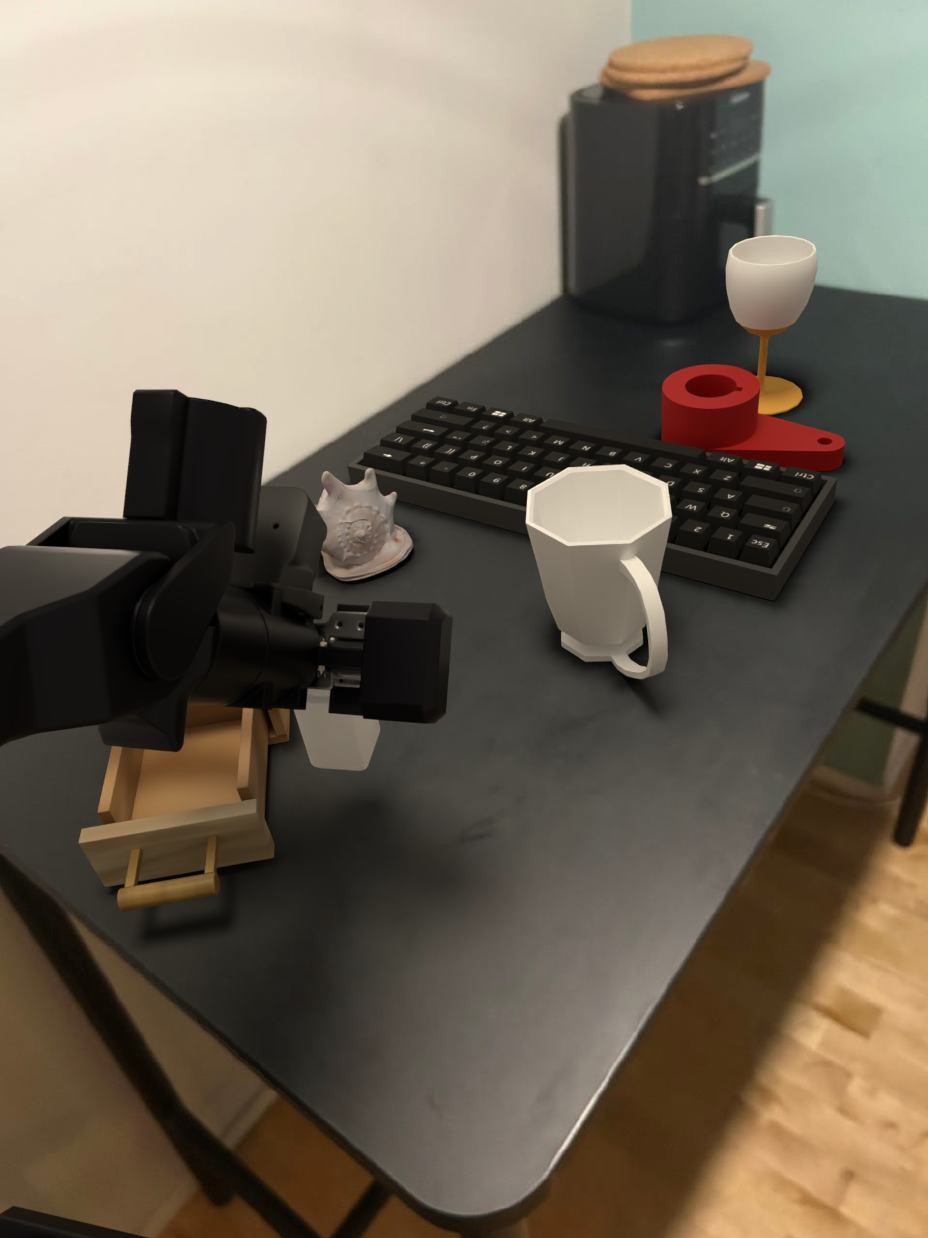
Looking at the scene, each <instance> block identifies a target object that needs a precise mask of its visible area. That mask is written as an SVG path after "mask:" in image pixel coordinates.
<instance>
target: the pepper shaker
mask: <svg viewBox="0 0 928 1238" xmlns="http://www.w3.org/2000/svg"><path fill="white" fill-rule="evenodd" d="M331 639H333V640H334V638H331ZM320 644H321V646H327V643H326V642H325V641H324V639H323V641H322V642H320ZM318 670H319V671H320V672H321V674H322V672H323V671H325V666H319V668H318ZM329 698H330V690H319V689H308V691H307V703H306V710H293V712H294V716H295V718H296V722H297V725H298V728H299V732H300V734H301V738H302V741H303V744H304V747H305V750H306V753H307V757H308V759H309V762H310V764H311V765H312V766H313V767H315V768H318V769H327V770H342V771H352V772H353V771H354V772H355V771H356V772H361V771H364V770H366V769H367V768H368V767H369V765H370V761H371V759H372V756H373V752H374V751H375V748H376V744H377V742H378V739H379V735H380V733H381V725H380V722H379V721H380V720H372V719H363V716H356V715H344V714H331V713H328V710H329Z"/></svg>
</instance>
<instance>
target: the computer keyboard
mask: <svg viewBox="0 0 928 1238" xmlns="http://www.w3.org/2000/svg"><path fill="white" fill-rule="evenodd" d="M624 464H625V465H627V466H629V467H631V468H633V469H636V470H638V471H640V472H642V473H645V474H647V475H649V476H651V477H654V478H656V479H658V480H660V481H663V482H665V483H667V484H668V491H669V498H670V505H671V513H672V519H671V524H670V529H669V534H668V539H667V543H666V548H665V552H664V556H663V561H662V566H661V571H660V572H664V573H667V574H672V575H676V576H679V577H683V578H687V579H690V580H694V581H698V582H701V583H705V584H709V585H712V586H716V587H720V588H724V589H728V590H731V591H735V592H738V593H743V594H746V595H750V596H753V597H757V598H761V599H763V600H764V599H766V600H768V601H772V602H775V601H776V599H777V598H778V595H780V592H781V591H782V589H783V587H784V585H785V584H786V582H787V581H788V579H789V578H790V576H791V574H792V573H793V571H794V569H795V567H796V566H797V564H798V563H799V561H800V559H801V558H802V556H803V555H804V553H805V551H806V550H807V547H808V546H809V545H810V543H811V541H812V539H813V538H814V536H815V535H816V533H817V531H818V530H819V528H820V526H821V525H822V523H823V521H824V520H825V518H826V517H827V515H828V513H829V512H830V510H831V508H832V507H833V505H834V503H835V498H836V497H835V496H836V490H837V483H838V477H833V476H828V475H823V474H822V473H821V471H811V470H806V469H801V468H796V467H791V466H789V467H788V468H784V467H780V466H779V464H776V463H771V462H766V461H761V460H756V459H750V461H749V460H744V459H742V457H741V456H736V455H730V454H725V453H720V452H715V451H714V452H713V453H708V452H705V449H700V448H695V447H690V446H685V445H680V444H675V443H670V442H665V441H661V440H659V439H654V438H649V437H644V436H640V435H635V434H629V433H625V432H620V431H615V430H608V429H604V428H600V427H599V428H598V427H594V426H589V425H584V424H580V423H579V424H577V423H574V422H569V421H565V420H559V419H553V418H548V419H544V418H543V417H542V416H538V415H533V414H530V413H529V414H528V413H523V412H519V413H514V412H513V410H509V409H503V408H497V407H493V406H491V407H490V408H487V407H486V406H485V405H482V404H478V403H474V402H467V401H463V402H459V401H458V400H457V399H452V398H447V397H443V396H439V395H438V396H435V397H432V398H431V399H429V400H428V401H427V402H426V403H424V404H423V405H422V406H420V407H419V408H418V409H417V410H416V411H414V412H413V413H411V414H410V415H409V416H408V417H407V418H406V419H404V420H403V421H402V422H400V423H399V424H398V425H396V426H395V427H394V428H393V429H392V430H390V431H389V432H388V433H387V434H385V435H384V436H383V437H382V438H380V439H379V440H377V442H374V444H373V445H371V446H370V447H368V448H367V449H366V450H365V451H363V452H362V453H361V454H360V455H359V456H357V457H356V458H355V459H353V461H350V463H349V464H348V465H346V467H347V471H348V476H349V480H350V485H356V484H358V483H360V482H361V481H363V480H364V479H365V472H366V470H367V469H369V468H372V469H373V470H374V472H375V476H376V481H377V486H378V489H379V492H380V493H381V494H382V495H383V496H388V495H390V494H391V493H392V492H396V493H397V499H396V501H400V502H403V503H407V504H411V505H414V506H417V507H421V508H426V509H430V510H432V511H437V512H441V513H444V514H448V515H451V516H456V517H459V518H464V519H466V520H471V521H474V522H478V523H481V524H484V525H485V524H486V525H489V526H493V527H497V528H500V529H504V530H508V531H510V532H514V533H515V532H516V533H519V534H522V535H526V536H529V533H528V530H527V526H526V512H527V497H528V490H530V489H532V488H533V487H535V486H537V485H539V484H540V483H542V482H544V481H546V480H547V479H549V478H551V477H553V476H554V475H556V474H558V473H560V472H561V471H563V470H565V469H567V468H568V467H586V466H605V465H624Z"/></svg>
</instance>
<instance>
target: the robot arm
mask: <svg viewBox="0 0 928 1238" xmlns="http://www.w3.org/2000/svg"><path fill="white" fill-rule="evenodd" d="M131 399H132V400H131V407H130V419H129V420H130V422H129V424H130V425H129V426H130V443H129V451H128V452H129V453H128V462H127V471H126V480H125V481H126V482H125V490H124V501H123V509H122V517H99V516H98V517H95V516H69V515H67V516H66V515H65V516H62V517H61V518H59V519H58V520H57V521H55V522H54V523H53V524H51V525H50V526H49V527H47V528H46V529H44V530H43V531H42V532H41V533H39V534H38V535H37V536H35V537H34V538H32V540H29V542H28V543H26V544H24V545H23V544H22V545H19V544H18V545H6V546H3V547H1V548H0V748H1V747H3V746H5V745H7V744H8V743H11V742H15V741H17V740H21V739H24V738H27V737H30V736H33V735H38V734H43V733H51V732H57V731H64V730H72V729H79V728H85V727H86V728H87V727H93V726H96V727H97V728H96V729H97V731H98V735H99V737H100V741H101V743H102V744H103V745H105V746H110V747H112V746H117V747H127V748H138V749H148V750H158V751H168V752H178V751H180V750H181V749H182V747H183V744H184V736H185V726H186V716H187V706H188V705H199V706H225V707H238V708H250V709H263V710H272V708H280V709H290V710H293V711H294V710H306V703H307V691H308V689H319V690H330V698H329V710H328V713H331V714H344V715H356V716H363V719H372V720H378V721H384V722H397V723H411V724H421V725H422V724H423V725H429V724H436V723H438V722H439V720H441V719H442V718H443V717H444V716H445V715H446V714H447V706H448V705H447V703H448V689H449V678H450V663H451V649H452V636H453V623H454V617H453V615H451V613H450V611H448V610H447V608H445V606H443V605H441V604H438V603H436V602H429V601H409V600H407V601H406V600H388V599H387V600H385V599H372V600H371V603H370V604H354V603H352V604H349V603H348V604H347V603H337V604H336V611H335V612H333V613H332V614H331V615H329V617H328V619H327V621H326V622H314V620H318V621H321V620H322V619H323V617H324V616H323V614H324V604H325V595H324V594H321V593H318V592H315V591H313V590H314V589H313V588H314V582H315V579H316V576H317V575H316V574H317V571H318V566H319V563H320V558H321V555H322V553H321V550H322V546H323V542H324V541H325V540H326V536H327V526H326V523H325V522H324V520H323V519H322V517H321V515H320V514H319V512H318V511H317V509H316V507H315V506H314V505H315V504H314V502H313V501H312V499H311V497H310V496H309V494H308V493H307V491H306V490H305V489H304V488H302V487H299V486H289V485H287V486H285V485H284V486H282V485H262V480H263V470H264V460H265V450H266V449H265V448H266V440H267V439H266V438H267V429H268V418H267V416H266V415H265V414H264V413H263V412H261V411H260V410H259V409H257V408H254V407H251V406H237V405H234V404H230V403H227V402H222V401H219V400H218V401H217V400H213V399H207V398H200V397H193V396H188V395H187V394H185V393H184V392H182V391H181V390H179V389H176V388H159V389H158V388H157V389H156V388H155V389H154V388H153V389H152V388H147V389H145V388H144V389H143V388H141V389H140V388H139V389H135V390H134V391H133V392H132V398H131ZM331 638H334V640H333V639H331ZM323 639H324V641H325V642H326V643H327V646H321V644H320V642H322V641H323ZM319 666H325V671H323V672H322V674H321V672H320V671H319V670H318V668H319ZM0 1238H149V1237H147V1236H143V1235H139V1234H136V1233H131V1232H127V1231H122V1230H119V1229H113V1228H110V1227H105V1226H101V1225H97V1224H93V1223H89V1222H84V1221H80V1220H76V1219H71V1218H67V1217H63V1216H59V1215H55V1214H51V1213H47V1212H43V1211H38V1210H33V1209H30V1208H26V1207H21V1206H16V1205H13V1206H12V1205H11V1206H10V1207H9V1208H7V1209H6V1210H4V1211H2V1212H1V1213H0Z"/></svg>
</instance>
